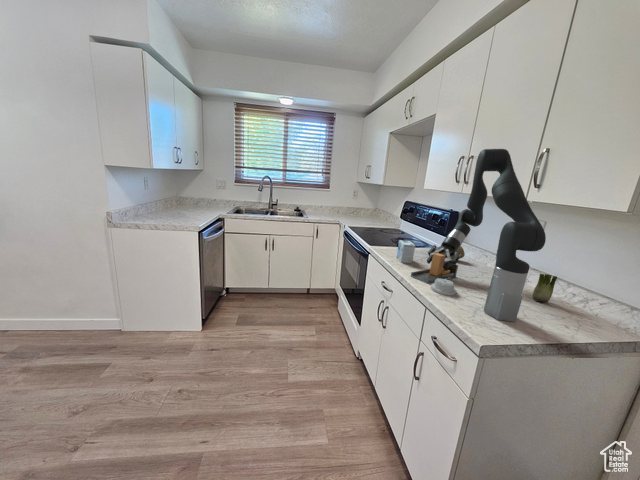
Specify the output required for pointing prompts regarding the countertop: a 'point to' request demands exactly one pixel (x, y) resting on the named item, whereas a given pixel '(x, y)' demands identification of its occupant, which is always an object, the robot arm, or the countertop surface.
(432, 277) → the dark grey tray
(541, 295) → the fennel bulb
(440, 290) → the mechanical component
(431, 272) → the orange block
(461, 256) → the natural sponge
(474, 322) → the countertop surface
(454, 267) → the keeper
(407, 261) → the light bulb box
